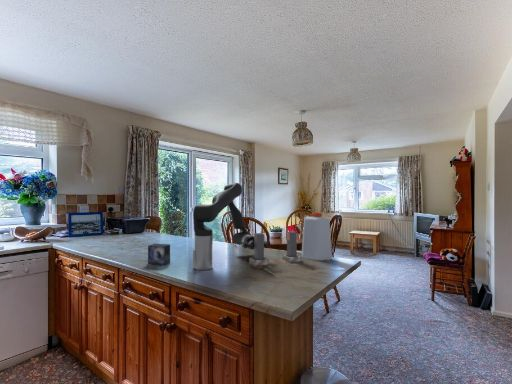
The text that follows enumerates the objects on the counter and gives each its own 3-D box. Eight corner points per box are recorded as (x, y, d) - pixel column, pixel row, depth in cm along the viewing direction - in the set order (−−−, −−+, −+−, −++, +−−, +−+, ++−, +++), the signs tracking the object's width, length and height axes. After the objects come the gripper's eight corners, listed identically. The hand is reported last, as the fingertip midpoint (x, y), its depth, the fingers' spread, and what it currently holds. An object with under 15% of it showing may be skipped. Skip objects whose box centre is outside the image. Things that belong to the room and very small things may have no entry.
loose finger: (256, 264, 148) (257, 234, 148) (254, 262, 151) (254, 233, 151) (264, 263, 149) (265, 233, 149) (261, 261, 153) (262, 232, 153)
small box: (147, 264, 153) (147, 245, 153) (154, 261, 159) (154, 243, 159) (164, 265, 150) (164, 246, 150) (170, 262, 157) (170, 244, 157)
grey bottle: (318, 263, 156) (319, 213, 156) (298, 258, 167) (298, 212, 168) (334, 259, 165) (334, 212, 166) (314, 255, 177) (314, 211, 177)
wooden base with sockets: (255, 268, 145) (255, 261, 145) (249, 264, 153) (249, 257, 153) (302, 264, 155) (302, 256, 155) (294, 260, 163) (294, 253, 163)
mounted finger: (289, 261, 155) (289, 232, 155) (286, 259, 158) (286, 231, 159) (296, 260, 156) (296, 232, 156) (293, 259, 160) (293, 231, 160)
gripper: (238, 236, 162) (247, 240, 147) (260, 234, 167) (272, 238, 152) (238, 248, 162) (247, 254, 147) (260, 247, 167) (272, 252, 152)
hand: (259, 246), depth 149 cm, fingers open, 8 cm apart
